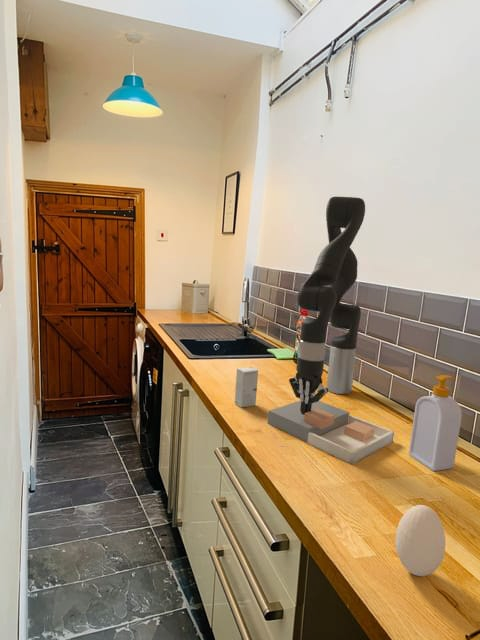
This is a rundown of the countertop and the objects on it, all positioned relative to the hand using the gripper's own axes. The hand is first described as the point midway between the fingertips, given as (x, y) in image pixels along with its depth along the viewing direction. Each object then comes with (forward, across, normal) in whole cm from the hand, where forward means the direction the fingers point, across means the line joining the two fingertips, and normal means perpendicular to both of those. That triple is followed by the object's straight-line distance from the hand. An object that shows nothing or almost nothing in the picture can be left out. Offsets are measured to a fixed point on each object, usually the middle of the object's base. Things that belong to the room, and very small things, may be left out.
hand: (305, 414), depth 119 cm
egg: (+5, -46, +28) cm, 54 cm away
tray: (+5, -13, -5) cm, 15 cm away
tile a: (+2, -12, -10) cm, 16 cm away
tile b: (+1, -5, 0) cm, 5 cm away
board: (+5, +2, -5) cm, 7 cm away
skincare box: (+5, +24, 0) cm, 25 cm away
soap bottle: (+5, -32, -13) cm, 34 cm away
